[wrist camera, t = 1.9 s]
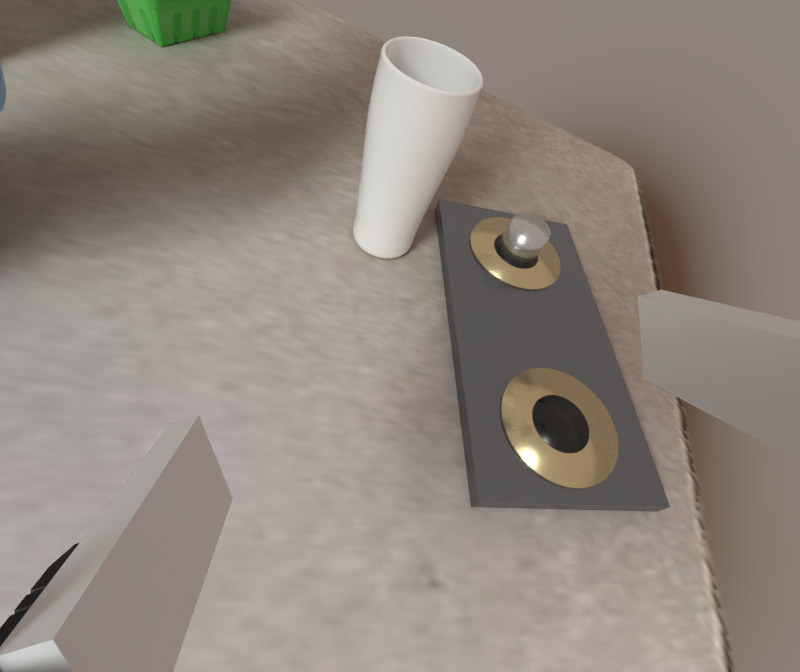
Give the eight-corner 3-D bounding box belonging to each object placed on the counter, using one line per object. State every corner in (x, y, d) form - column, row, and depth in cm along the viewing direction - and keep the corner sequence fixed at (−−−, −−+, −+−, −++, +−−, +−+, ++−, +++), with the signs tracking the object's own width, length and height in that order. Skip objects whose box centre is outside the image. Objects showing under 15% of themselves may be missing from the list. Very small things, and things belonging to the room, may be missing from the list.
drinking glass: (352, 204, 40) (390, 23, 29) (422, 226, 41) (487, 59, 29) (334, 254, 36) (370, 67, 25) (412, 277, 37) (483, 107, 25)
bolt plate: (435, 209, 43) (450, 171, 40) (560, 233, 46) (584, 200, 43) (471, 506, 27) (501, 487, 24) (657, 511, 31) (708, 494, 27)
